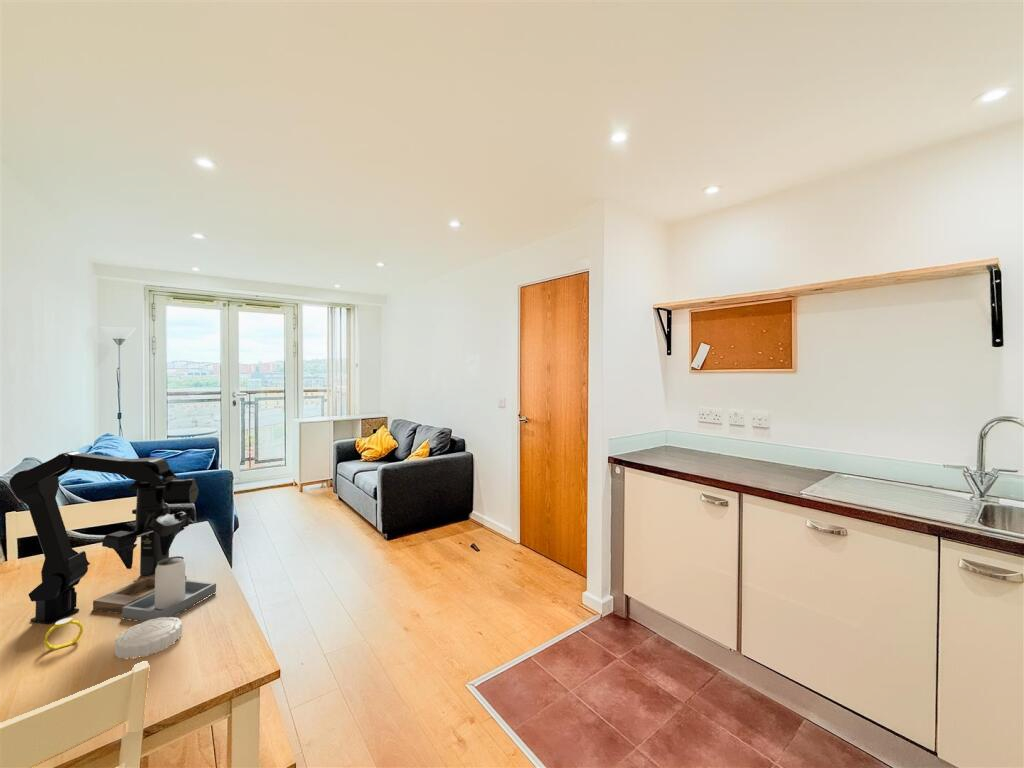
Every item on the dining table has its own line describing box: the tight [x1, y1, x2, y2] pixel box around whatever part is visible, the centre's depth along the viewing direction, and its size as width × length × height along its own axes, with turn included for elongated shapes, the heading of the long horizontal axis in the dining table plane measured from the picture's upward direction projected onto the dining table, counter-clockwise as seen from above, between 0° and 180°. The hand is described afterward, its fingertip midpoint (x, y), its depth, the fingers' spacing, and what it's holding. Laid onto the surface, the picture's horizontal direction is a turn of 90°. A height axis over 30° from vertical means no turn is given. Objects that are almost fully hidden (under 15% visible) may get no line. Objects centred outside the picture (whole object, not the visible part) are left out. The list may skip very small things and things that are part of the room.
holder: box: [92, 574, 187, 614], centre depth 119 cm, size 17×11×2 cm, turn 170°
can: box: [155, 555, 186, 610], centre depth 114 cm, size 6×6×12 cm
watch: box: [43, 617, 84, 651], centre depth 96 cm, size 6×3×6 cm, turn 137°
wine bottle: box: [139, 502, 171, 577], centre depth 134 cm, size 6×6×30 cm
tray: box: [121, 579, 217, 623], centre depth 114 cm, size 16×12×3 cm
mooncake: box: [114, 616, 183, 660], centre depth 98 cm, size 12×12×4 cm
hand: (147, 561), depth 114 cm, fingers open, 9 cm apart
